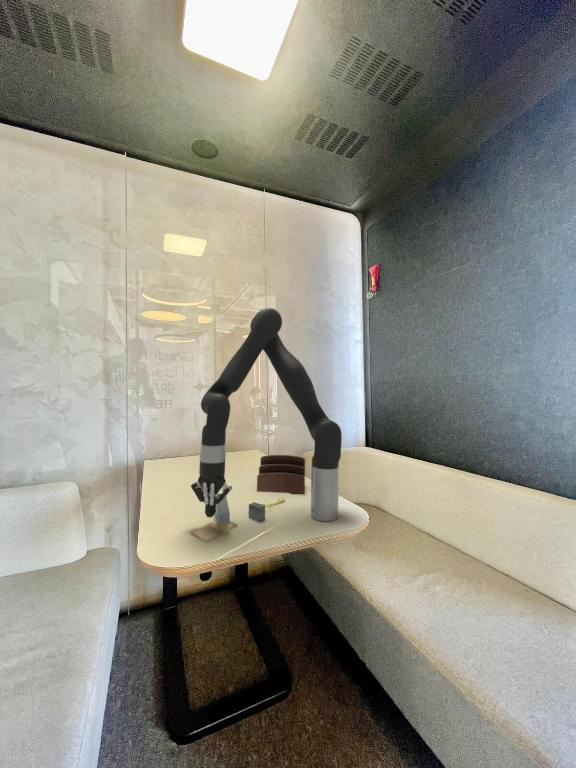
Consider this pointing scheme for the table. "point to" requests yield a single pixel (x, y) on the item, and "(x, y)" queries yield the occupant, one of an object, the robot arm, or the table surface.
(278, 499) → the key
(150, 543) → the table surface
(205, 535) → the brown rectangular panel
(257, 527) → the table surface
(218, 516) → the grey handle
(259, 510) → the block
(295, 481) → the letter holder
